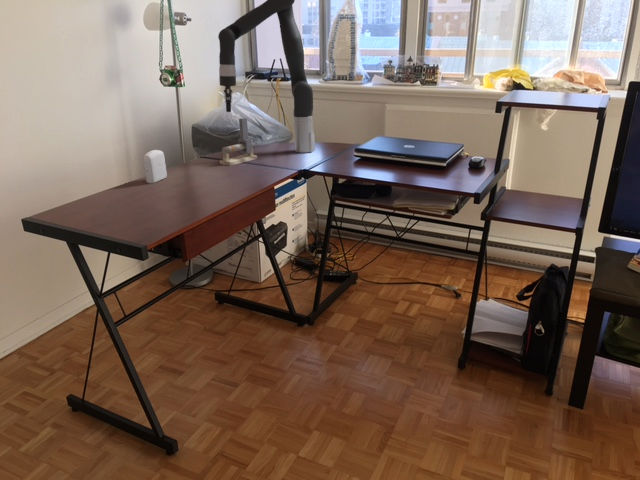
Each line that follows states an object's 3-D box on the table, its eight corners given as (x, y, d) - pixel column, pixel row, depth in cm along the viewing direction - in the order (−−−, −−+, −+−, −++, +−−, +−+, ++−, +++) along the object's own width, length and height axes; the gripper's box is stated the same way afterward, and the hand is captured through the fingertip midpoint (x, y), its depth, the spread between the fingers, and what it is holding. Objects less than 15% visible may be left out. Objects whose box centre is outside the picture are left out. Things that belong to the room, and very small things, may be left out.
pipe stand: (247, 157, 262) (246, 140, 259) (257, 158, 258) (256, 141, 255) (219, 163, 250) (218, 146, 247) (230, 165, 246) (228, 148, 243)
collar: (243, 150, 259) (241, 117, 253) (252, 152, 255) (249, 118, 249) (238, 151, 256) (236, 118, 251) (247, 153, 253) (244, 119, 247)
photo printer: (153, 183, 219) (149, 153, 215) (145, 183, 220) (140, 152, 216) (168, 177, 228) (165, 148, 224) (160, 177, 229) (156, 147, 225)
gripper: (236, 75, 244) (237, 112, 249) (235, 74, 257) (236, 109, 262) (219, 75, 243) (220, 112, 248) (219, 74, 256) (220, 109, 261)
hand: (228, 111), depth 255 cm, fingers open, 8 cm apart
